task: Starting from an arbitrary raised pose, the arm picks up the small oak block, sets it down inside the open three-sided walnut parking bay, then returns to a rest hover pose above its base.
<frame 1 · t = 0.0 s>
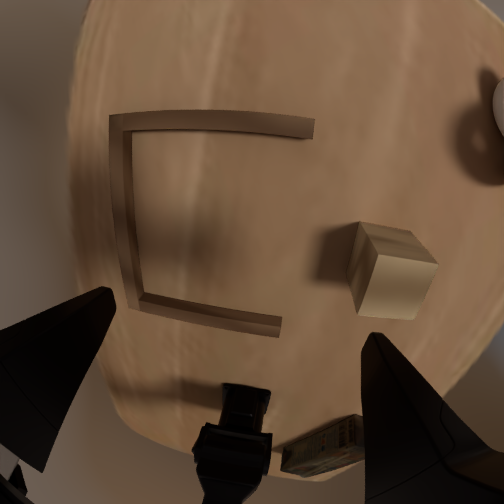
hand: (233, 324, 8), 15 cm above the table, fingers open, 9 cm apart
bay: (209, 228, 23), on the table
oak block: (378, 252, 22), on the table
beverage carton: (329, 435, 39), on the table
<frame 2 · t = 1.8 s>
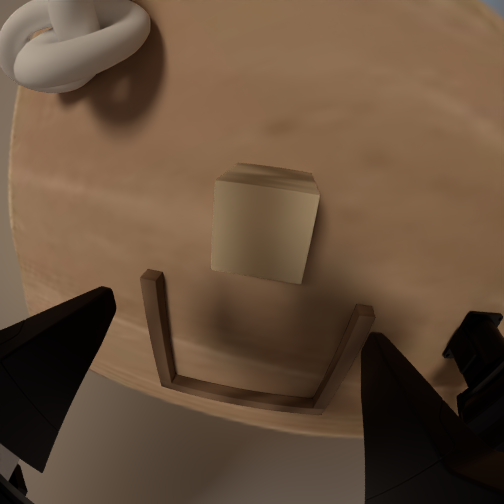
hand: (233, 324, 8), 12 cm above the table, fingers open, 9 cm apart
bay: (249, 349, 26), on the table
oak block: (270, 201, 19), on the table
white decorative knot: (106, 30, 14), on the table
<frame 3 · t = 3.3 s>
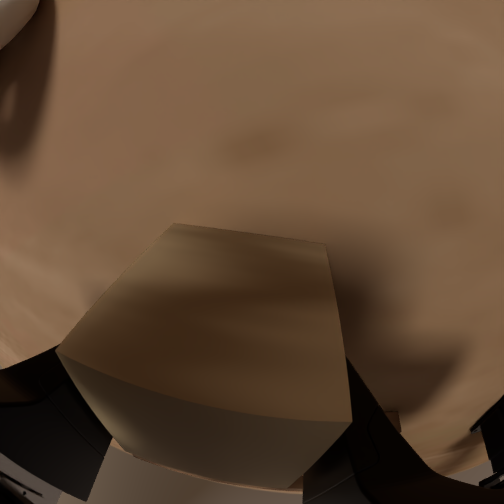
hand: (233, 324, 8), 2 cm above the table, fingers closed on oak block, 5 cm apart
bay: (229, 445, 17), on the table
oak block: (241, 296, 10), on the table, touching gripper
white decorative knot: (5, 22, 5), on the table
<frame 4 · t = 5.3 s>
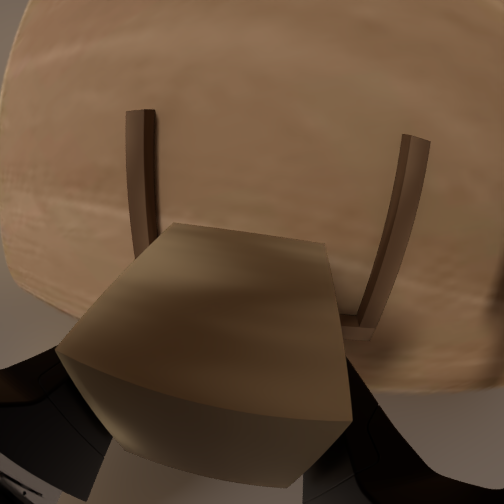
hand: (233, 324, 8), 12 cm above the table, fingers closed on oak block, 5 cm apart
bay: (266, 219, 19), on the table
oak block: (241, 295, 10), point 10 cm above the table, touching gripper
when the fingers open (4 cm above the table, at t = 7.1 s): oak block drops 3 cm, on the table.
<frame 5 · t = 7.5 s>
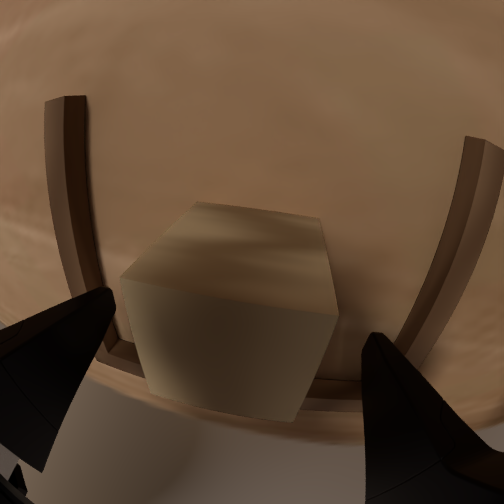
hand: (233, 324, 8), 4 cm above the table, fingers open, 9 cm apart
bay: (250, 263, 12), on the table
oak block: (251, 262, 12), on the table
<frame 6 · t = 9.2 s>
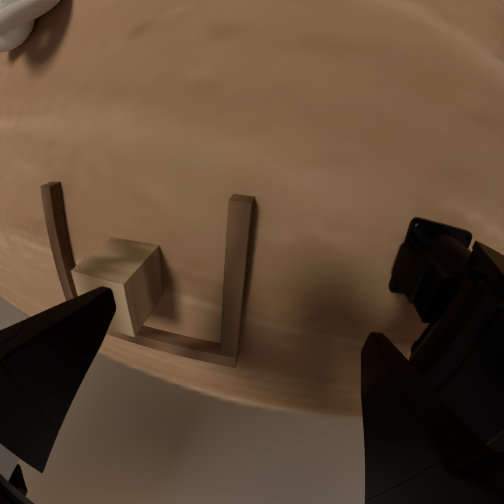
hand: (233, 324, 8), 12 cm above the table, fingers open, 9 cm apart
bay: (136, 266, 23), on the table
oak block: (136, 265, 23), on the table
white decorative knot: (42, 3, 11), on the table
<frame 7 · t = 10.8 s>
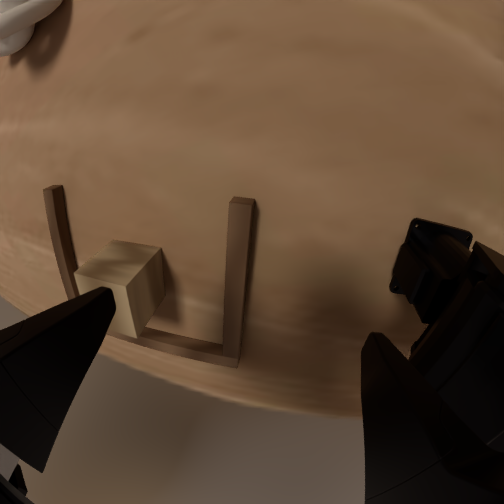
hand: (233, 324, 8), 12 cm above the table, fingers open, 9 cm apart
bay: (138, 268, 23), on the table
oak block: (139, 267, 23), on the table
white decorative knot: (42, 7, 11), on the table
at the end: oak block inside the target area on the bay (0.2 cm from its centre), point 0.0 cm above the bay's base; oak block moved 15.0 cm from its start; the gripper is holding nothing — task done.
